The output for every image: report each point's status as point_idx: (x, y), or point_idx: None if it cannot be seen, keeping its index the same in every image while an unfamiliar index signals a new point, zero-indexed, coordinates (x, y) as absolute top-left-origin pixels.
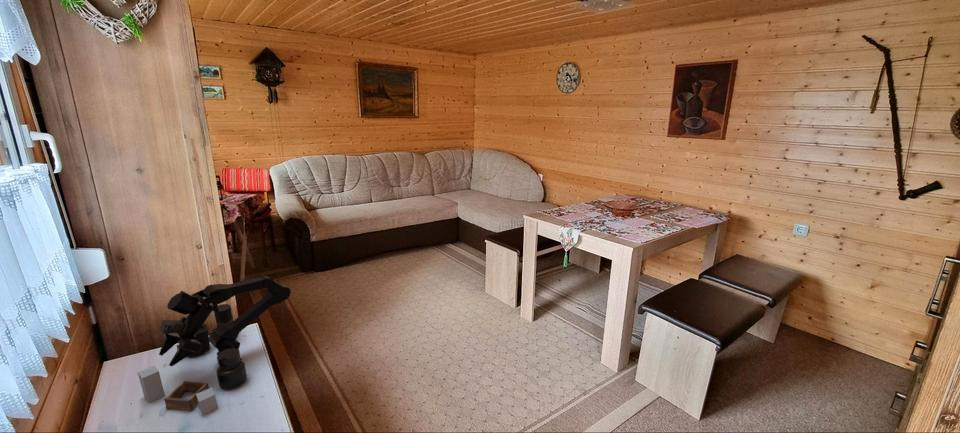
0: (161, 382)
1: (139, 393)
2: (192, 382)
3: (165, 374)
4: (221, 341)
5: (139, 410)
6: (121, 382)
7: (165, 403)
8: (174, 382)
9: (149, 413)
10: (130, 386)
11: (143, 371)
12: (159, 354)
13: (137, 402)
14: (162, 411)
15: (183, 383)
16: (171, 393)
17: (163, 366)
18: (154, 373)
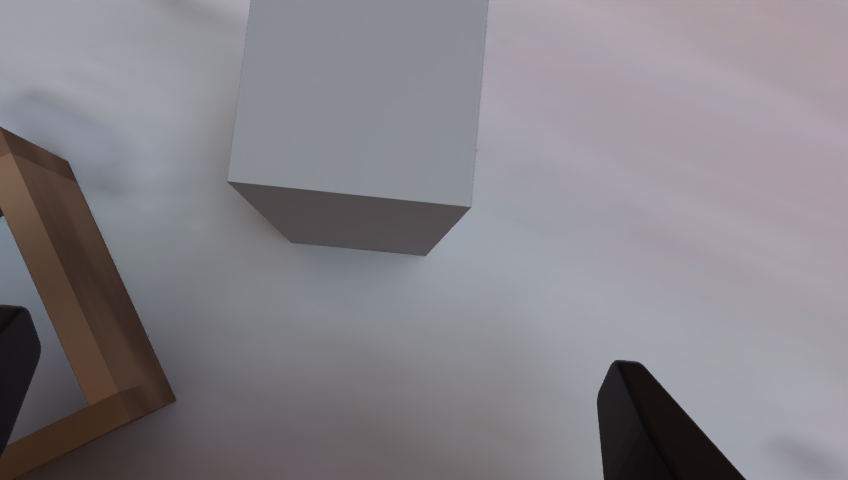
0: (267, 216)
1: (531, 125)
2: (4, 466)
3: None
4: None
5: None
6: (840, 106)
7: (28, 145)
8: (423, 388)
9: (148, 52)
10: (710, 125)
11: (441, 39)
12: (617, 363)
13: None
14: (67, 126)
15: (90, 389)
16: (23, 218)
17: (799, 443)
18: (235, 117)
